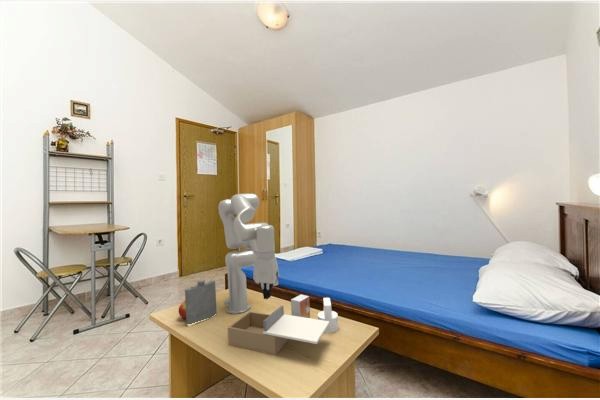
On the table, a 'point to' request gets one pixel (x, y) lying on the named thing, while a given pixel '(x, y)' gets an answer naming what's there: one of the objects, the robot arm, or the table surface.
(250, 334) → the tray
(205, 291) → the grey flat upright block
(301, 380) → the table surface
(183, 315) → the apple
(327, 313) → the base with upright slab
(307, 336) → the lid
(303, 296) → the small box
